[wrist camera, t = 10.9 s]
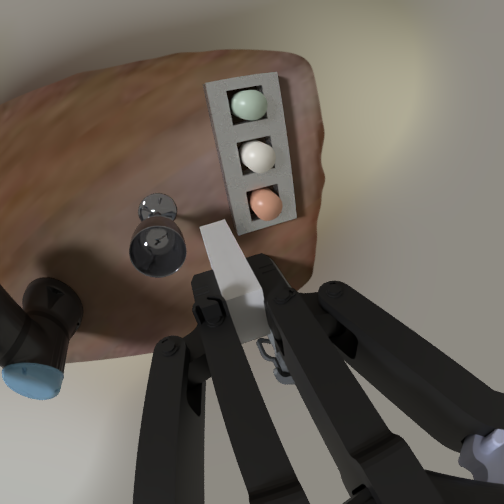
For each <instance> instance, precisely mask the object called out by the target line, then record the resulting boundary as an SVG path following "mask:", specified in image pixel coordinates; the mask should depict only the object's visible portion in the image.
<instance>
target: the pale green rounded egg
mask: <svg viewBox="0 0 504 504" xmlns="http://www.w3.org/2000/svg"><path fill="white" fill-rule="evenodd" d="M267 106H268V104H267V100H266V98H265V96H264V95H263V94H262V93H261V92H259V91H256V90H246V91H239V92H237V93H235V94H234V95H233V96H232V97H231V99H230V101H229V108H230V111H231V113H232V114H233V115H234V116H236V117H238V118H242V119H246V120H257V119H259V118H261V117H262V116H263V115H264V114H265V113H266V111H267Z"/></svg>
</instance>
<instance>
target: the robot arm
mask: <svg viewBox="0 0 504 504" xmlns="http://www.w3.org/2000/svg"><path fill="white" fill-rule="evenodd" d="M200 230H201V234H202V237H203V241H204V244H205V247H206V250H207V254H208V257H209V260H210V264H211V267H212V270H209V271H206V272H203V273H200V274H197V275H194V276H193V279H192V282H191V285H192V290H193V295H194V299H195V303H194V305H193V308H192V312H193V314H194V316H195V319H196V321H197V323H198V325H197V327H196V328H195V329H194V330H193V332H191V333H190V334H189V335H187V336H185V337H184V338H181V337H179V336H168V337H165V338H163V339H162V340H160V341H159V342H158V343H157V344H156V346H155V349H154V352H153V357H152V363H151V368H150V374H149V379H148V384H147V390H146V396H145V402H144V408H143V415H142V421H141V429H140V436H139V444H138V452H137V461H136V470H135V482H134V494H133V504H204V427H205V391H206V380H207V379H208V378H210V377H212V380H213V384H214V388H215V391H216V395H217V398H218V402H219V405H220V409H221V412H222V415H223V419H224V422H225V425H226V429H227V432H228V435H229V438H230V441H231V444H232V447H233V450H234V453H235V456H236V459H237V462H238V465H239V468H240V471H241V474H242V477H243V479H244V482H245V485H246V488H247V491H248V494H249V502H250V504H310V503H309V501H308V499H307V497H306V494H305V492H304V490H303V488H302V486H301V484H300V483H299V481H298V479H297V477H296V474H295V473H294V470H293V468H292V466H291V463H290V461H289V459H288V457H287V455H286V452H285V450H284V448H283V446H282V443H281V441H280V438H279V436H278V434H277V432H276V429H275V427H274V424H273V422H272V420H271V417H270V415H269V413H268V410H267V408H266V405H265V403H264V400H263V398H262V396H261V393H260V391H259V389H258V386H257V383H256V381H255V378H254V376H253V373H252V371H251V368H250V365H249V363H248V360H247V358H246V355H245V353H244V350H243V347H242V345H241V344H243V343H246V342H249V341H252V340H255V339H257V338H260V337H263V336H266V335H269V334H271V332H272V334H273V336H274V342H275V347H276V352H277V353H278V352H280V355H281V357H282V359H283V361H284V363H285V365H286V367H287V369H288V371H289V373H290V375H291V377H292V379H293V381H294V383H295V385H296V386H297V389H298V390H299V393H300V395H301V397H302V399H303V401H304V403H305V405H306V407H307V408H308V411H309V413H310V415H311V417H312V419H313V420H314V423H315V424H316V426H317V428H318V430H319V432H320V434H321V436H322V438H323V440H324V442H325V444H326V446H327V448H328V450H329V452H330V454H331V455H332V457H333V459H334V461H335V463H336V465H337V467H338V469H339V471H340V474H341V478H342V481H343V483H344V485H345V487H346V489H347V491H348V493H349V495H350V497H351V498H349V499H348V500H347V501H346V502H344V503H343V504H504V393H501V392H497V391H494V390H492V389H491V388H490V387H488V386H487V385H486V384H485V383H483V382H482V381H481V380H479V379H478V378H476V377H475V376H474V375H473V374H471V373H470V372H469V371H467V370H466V369H465V368H463V367H462V366H461V365H459V364H458V363H456V362H455V361H454V360H453V359H451V358H450V357H448V356H447V355H445V354H444V353H443V352H442V351H440V350H439V349H438V348H436V347H435V346H433V345H432V344H431V343H429V342H428V341H427V340H425V339H424V338H422V337H421V336H420V335H418V334H417V333H415V332H414V331H413V330H411V329H409V328H408V327H407V326H405V325H404V324H403V323H401V322H400V321H399V320H397V319H395V318H394V317H393V316H392V315H390V314H389V313H387V312H386V311H384V310H383V309H382V308H380V307H379V306H377V305H376V304H374V303H373V302H372V301H370V300H369V299H367V298H366V297H364V296H363V295H361V294H360V293H359V292H357V291H356V290H354V289H353V288H351V287H350V286H348V285H347V284H345V283H343V282H340V281H329V282H326V283H324V284H323V285H322V286H320V288H319V291H318V292H315V293H298V292H297V291H296V290H295V289H293V288H290V287H289V286H288V285H287V283H286V282H285V280H284V279H283V277H282V276H281V274H280V273H279V271H278V270H277V268H276V267H275V265H274V264H273V262H272V261H271V259H270V258H269V257H268V256H266V255H264V254H262V253H261V254H258V255H254V256H251V257H248V258H245V256H244V254H243V252H242V251H241V249H240V247H239V245H238V243H237V241H236V239H235V238H234V236H233V234H232V232H231V230H230V228H229V226H228V224H227V223H226V221H225V219H224V220H221V221H217V222H214V223H211V224H207V225H204V226H201V227H200ZM22 304H23V309H22V308H21V307H20V306H19V305H18V304H17V303H16V302H15V301H14V300H13V298H12V297H11V296H10V295H9V294H8V293H7V292H6V290H5V289H4V288H3V287H2V286H1V285H0V366H1V367H2V368H3V370H2V378H3V380H4V381H5V383H6V385H7V386H8V387H9V388H10V389H12V390H13V391H15V392H17V393H18V394H20V395H23V396H25V397H28V398H32V399H38V400H47V399H51V398H54V397H55V396H57V395H58V393H59V392H60V389H61V384H62V380H63V378H64V375H63V374H64V367H65V361H66V355H67V350H68V344H69V340H70V339H71V337H72V336H73V335H74V333H75V332H76V331H77V329H78V328H79V326H80V324H81V320H82V316H83V307H82V304H81V301H80V299H79V298H78V296H77V295H76V293H75V292H74V291H73V290H72V289H71V288H70V287H68V286H67V285H66V284H64V283H62V282H60V281H58V280H55V279H52V278H39V279H36V280H34V281H32V282H31V283H30V284H29V285H28V287H27V289H26V291H25V293H24V295H23V302H22ZM270 330H271V332H270ZM344 360H345V361H346V362H347V363H348V364H349V365H350V366H351V367H352V368H354V369H355V370H356V371H357V372H358V373H359V374H360V375H361V376H363V377H364V378H365V379H366V380H367V381H368V382H369V383H371V384H372V385H373V386H374V387H375V388H376V389H377V390H379V391H380V392H381V393H382V394H383V395H384V396H385V397H386V398H388V399H389V400H390V401H391V402H392V403H393V404H395V405H396V406H397V407H398V408H399V409H400V410H402V411H403V412H404V413H405V414H406V415H407V416H408V417H410V418H411V419H412V420H413V421H414V422H415V423H417V424H418V425H419V426H420V427H421V428H422V429H424V430H425V431H426V432H427V433H428V434H430V435H431V436H432V437H433V438H434V439H436V440H437V441H438V442H440V443H441V444H442V445H444V446H446V447H447V448H449V449H451V450H453V451H456V452H459V453H460V457H459V460H458V462H459V465H460V466H461V467H464V468H466V469H467V470H469V471H470V472H471V473H472V475H473V478H474V480H471V479H465V478H459V477H455V476H450V475H446V474H441V473H437V472H433V471H429V470H424V469H423V467H422V466H421V464H420V463H419V461H418V460H417V458H416V456H415V455H414V453H413V452H412V450H411V449H410V447H409V446H408V444H407V443H406V442H405V440H404V439H403V438H402V437H400V436H399V435H396V434H393V433H392V432H391V431H390V430H389V429H388V427H387V426H386V424H385V423H384V421H383V420H382V418H381V416H380V415H379V413H378V412H377V410H376V409H375V408H374V406H373V404H372V403H371V401H370V400H369V398H368V396H367V395H366V393H365V392H364V390H363V389H362V387H361V386H360V384H359V383H358V381H357V380H356V378H355V377H354V375H353V374H352V372H351V371H350V369H349V368H348V366H347V365H346V363H345V362H344Z"/></svg>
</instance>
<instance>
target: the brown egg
mask: <svg viewBox="0 0 504 504" xmlns="http://www.w3.org/2000/svg"><path fill="white" fill-rule="evenodd" d="M247 200H248V204H249V206H250V207H251V209H252V210H253V211H254V212H255V214H256V215H257V216H258V217H259V218H260V219H261V220H264V221H270V220H273V219H275V218H277V217H278V216H279V214H280V213H281V211H282V207H283V205H282V201H281V199H280V198H279V197H278V196H277V195H276V194H275V193H274V192H272V191H271V190H270V189H269V188H268V187H262V188H259V189H255V190H251V191H250V192H249V194H248V198H247Z"/></svg>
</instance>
